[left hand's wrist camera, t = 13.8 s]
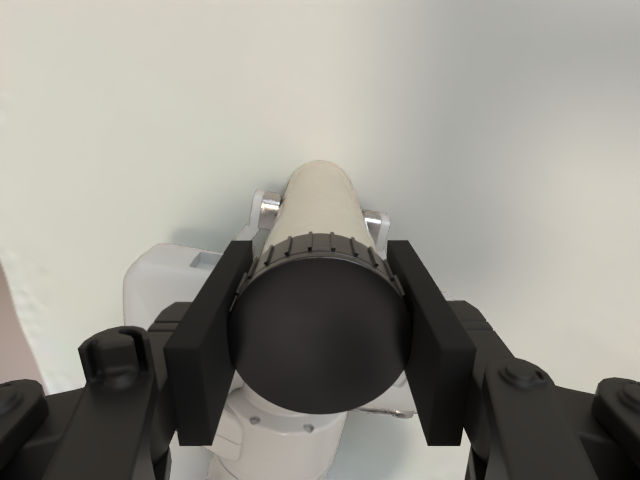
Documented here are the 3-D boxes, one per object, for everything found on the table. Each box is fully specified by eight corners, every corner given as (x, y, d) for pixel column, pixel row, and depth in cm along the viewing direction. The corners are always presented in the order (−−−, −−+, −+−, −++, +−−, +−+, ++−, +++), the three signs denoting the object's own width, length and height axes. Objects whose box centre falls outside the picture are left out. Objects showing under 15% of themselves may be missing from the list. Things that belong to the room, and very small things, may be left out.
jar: (276, 207, 27) (211, 362, 11) (305, 148, 26) (280, 227, 10) (333, 234, 28) (352, 419, 12) (364, 179, 27) (435, 301, 10)
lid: (217, 346, 12) (201, 385, 11) (269, 203, 11) (259, 223, 9) (361, 393, 13) (367, 437, 11) (431, 265, 11) (451, 294, 10)
